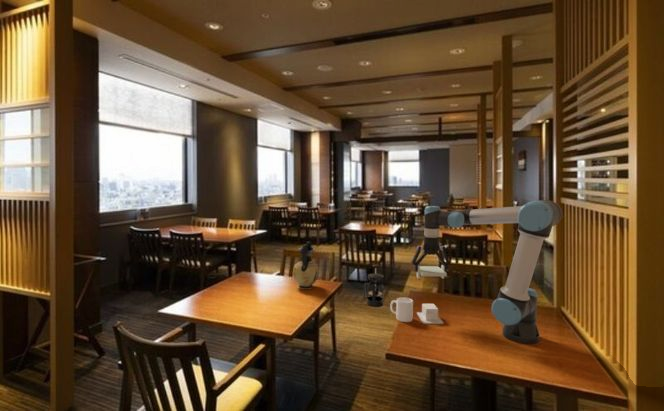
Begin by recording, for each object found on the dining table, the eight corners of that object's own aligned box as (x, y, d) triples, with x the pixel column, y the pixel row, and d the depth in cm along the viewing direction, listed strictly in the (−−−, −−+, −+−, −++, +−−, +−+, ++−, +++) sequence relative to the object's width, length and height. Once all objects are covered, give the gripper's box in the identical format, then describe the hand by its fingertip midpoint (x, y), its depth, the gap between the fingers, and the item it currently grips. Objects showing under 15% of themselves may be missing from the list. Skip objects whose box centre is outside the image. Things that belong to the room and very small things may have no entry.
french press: (385, 302, 207) (386, 263, 206) (383, 308, 198) (383, 267, 197) (365, 300, 211) (366, 262, 209) (362, 305, 202) (363, 265, 200)
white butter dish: (443, 324, 177) (444, 311, 177) (423, 324, 177) (424, 311, 177) (435, 313, 191) (435, 301, 191) (416, 313, 191) (416, 301, 190)
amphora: (318, 291, 226) (318, 245, 224) (291, 291, 226) (291, 244, 224) (319, 283, 244) (319, 240, 241) (294, 283, 244) (294, 240, 242)
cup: (409, 323, 177) (409, 303, 176) (386, 318, 184) (387, 299, 183) (414, 318, 184) (415, 299, 183) (393, 313, 191) (393, 295, 190)
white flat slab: (446, 276, 175) (446, 273, 175) (422, 276, 175) (422, 273, 175) (437, 269, 189) (437, 266, 189) (415, 269, 189) (415, 266, 189)
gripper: (452, 235, 185) (451, 276, 186) (406, 235, 184) (405, 275, 186) (457, 237, 177) (456, 280, 179) (409, 237, 177) (408, 279, 179)
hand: (430, 278), depth 183 cm, fingers closed on white flat slab, 12 cm apart
